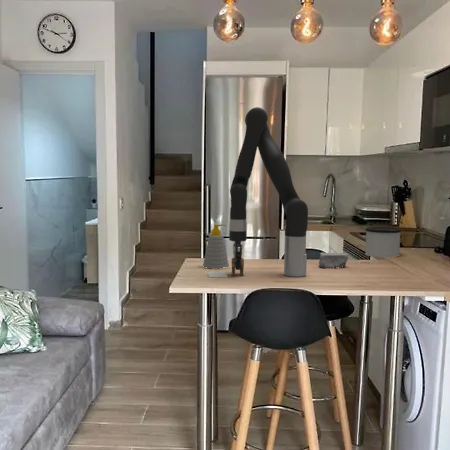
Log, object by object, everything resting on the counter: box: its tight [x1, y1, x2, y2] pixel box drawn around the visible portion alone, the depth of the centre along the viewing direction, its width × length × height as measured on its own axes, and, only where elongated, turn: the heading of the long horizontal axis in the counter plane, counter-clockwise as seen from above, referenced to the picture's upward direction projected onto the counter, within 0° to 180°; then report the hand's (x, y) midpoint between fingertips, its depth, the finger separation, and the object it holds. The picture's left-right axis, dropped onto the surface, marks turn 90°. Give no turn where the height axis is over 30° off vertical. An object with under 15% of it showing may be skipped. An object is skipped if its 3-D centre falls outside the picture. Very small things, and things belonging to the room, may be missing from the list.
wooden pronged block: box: [231, 257, 245, 277], centre depth 207 cm, size 5×5×7 cm
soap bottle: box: [202, 223, 230, 269], centre depth 226 cm, size 12×12×20 cm
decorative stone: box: [318, 252, 349, 269], centre depth 229 cm, size 15×7×10 cm
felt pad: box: [208, 271, 229, 278], centre depth 207 cm, size 8×11×1 cm
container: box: [364, 226, 402, 258], centre depth 268 cm, size 19×19×15 cm
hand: (237, 268), depth 207 cm, fingers open, 5 cm apart
